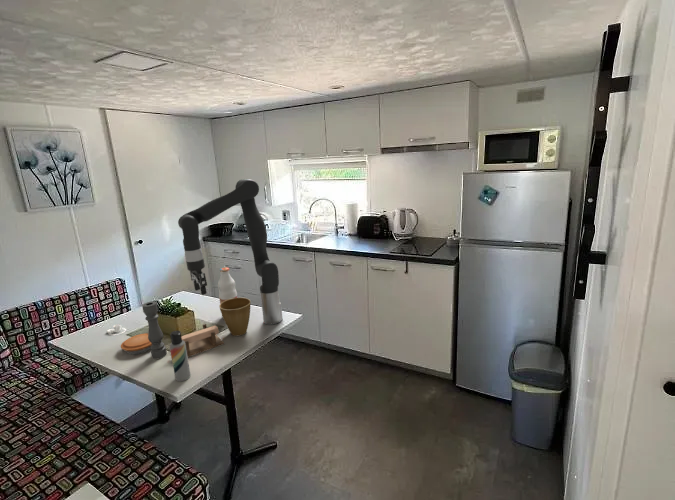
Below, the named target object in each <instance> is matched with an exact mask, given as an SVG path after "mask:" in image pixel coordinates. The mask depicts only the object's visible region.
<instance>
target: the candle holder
mask: <svg viewBox="0 0 675 500" xmlns="http://www.w3.org/2000/svg"><path fill="white" fill-rule="evenodd" d="M141 306H142V312H143V313H144V315H145V316H146V317H145V320H146V321H147V324H148V325H147V326H148V331H147V333H148V339H149V341H150V342H151V344H152V345H151V349H150V355H151V358H152V359H154V360H159V359H163V358H164V357H166V356H167V355H168V353H167V347H166V345H165V343H164V342H163V338H164V333H163V331H162V329H161V327H160V325H159V321H158V318H159V317H160V316H159V314H157V313H158V310H159V309H158V303H157V302H156V301H147V302H144V303H143V304H142V305H141Z"/></svg>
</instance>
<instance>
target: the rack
mask: <svg viewBox="0 0 675 500" xmlns="http://www.w3.org/2000/svg"><path fill="white" fill-rule="evenodd" d="M206 328H208V326H207V324H206V323H204V324H202V329H206ZM185 345H186V350H187V356H188V358H190V357H192V355H193V356H195V355H198V354H200V353H203V352H206V351H210V350H211V349H215V348H217V347H220V346H222V345H225V342H224V341H223V340H222V338H220V337H219V336H218V334H216V335H215V332H212V333H211V336H210V337H207V338H204V339H201V340H198V341H195V342H192V343H189V342H188V341H185Z"/></svg>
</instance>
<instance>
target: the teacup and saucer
mask: <svg viewBox="0 0 675 500" xmlns="http://www.w3.org/2000/svg"><path fill="white" fill-rule="evenodd" d="M122 330H123V331H122ZM121 331H122V332H121ZM125 332H127V328H125V327H123V326H122V325H121V324H120V323H117V324H114V325H113V328H110V329H107V330H106V333H107V334H108V335H109V336H118V335H121V334H124V333H125ZM114 333H115V334H114Z"/></svg>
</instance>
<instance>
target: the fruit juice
mask: <svg viewBox="0 0 675 500" xmlns="http://www.w3.org/2000/svg"><path fill="white" fill-rule="evenodd" d="M219 273H220V278H219V279H218V283H217V288H218V290H219V291H218V299H219V305H220V304H221V303H222V302H224V301H226V300H228V299H232V298H238V292H237V289H236V281H235V280H234V278H233V277H232V276H231V274H230V267H221V268H219ZM221 317H222V319H223V316H222V315H221Z"/></svg>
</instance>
